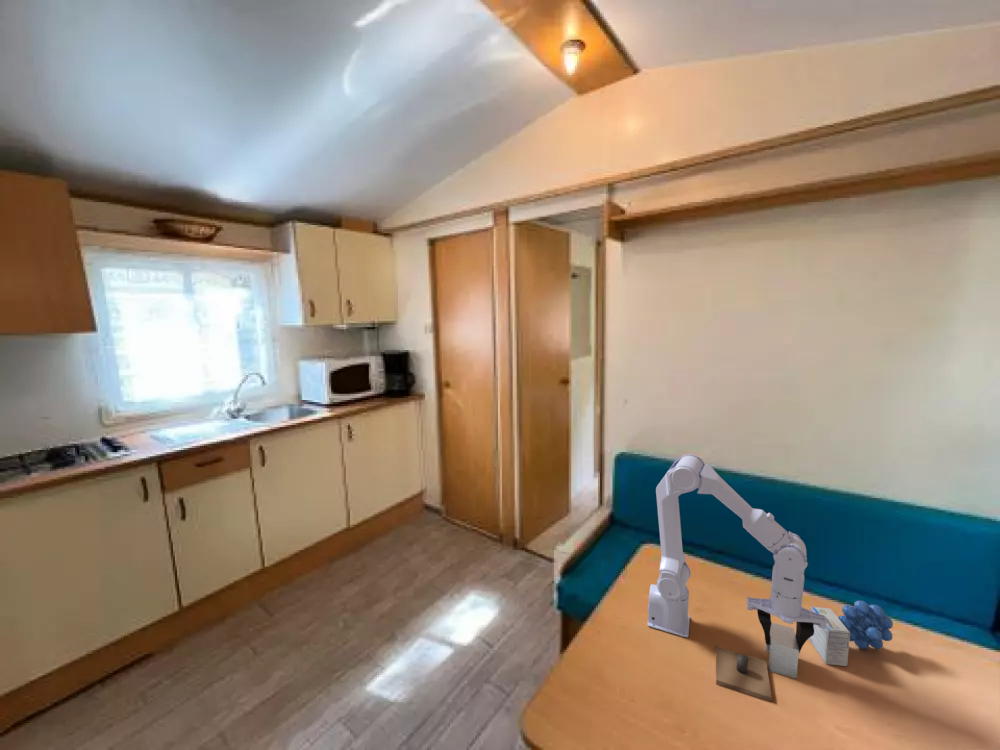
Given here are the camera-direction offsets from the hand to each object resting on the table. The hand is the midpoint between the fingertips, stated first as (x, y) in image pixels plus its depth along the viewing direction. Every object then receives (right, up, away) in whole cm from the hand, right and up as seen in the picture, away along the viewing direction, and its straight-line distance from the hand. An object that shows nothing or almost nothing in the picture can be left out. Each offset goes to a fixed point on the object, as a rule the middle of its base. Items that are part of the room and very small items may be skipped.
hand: (781, 645), depth 95 cm
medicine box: (+13, -4, +3) cm, 14 cm away
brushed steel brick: (0, -4, +1) cm, 4 cm away
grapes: (+22, -4, +3) cm, 22 cm away
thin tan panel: (-10, -5, -2) cm, 12 cm away
